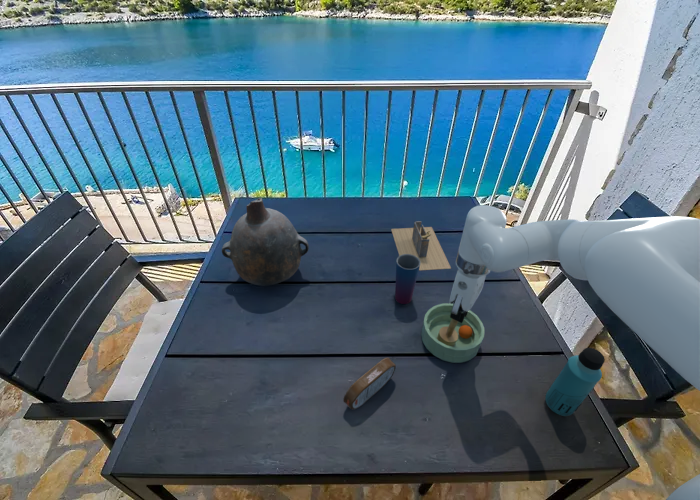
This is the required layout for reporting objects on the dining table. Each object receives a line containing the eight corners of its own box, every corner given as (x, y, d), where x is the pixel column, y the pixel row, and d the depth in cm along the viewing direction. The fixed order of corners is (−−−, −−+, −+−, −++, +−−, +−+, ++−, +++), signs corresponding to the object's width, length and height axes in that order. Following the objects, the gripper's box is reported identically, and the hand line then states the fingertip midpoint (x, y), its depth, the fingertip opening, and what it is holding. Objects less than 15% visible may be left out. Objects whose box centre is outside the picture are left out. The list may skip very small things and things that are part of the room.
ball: (470, 342, 95) (472, 335, 92) (456, 339, 96) (458, 331, 93) (471, 331, 97) (473, 324, 95) (458, 328, 98) (460, 321, 96)
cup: (403, 309, 104) (409, 272, 95) (387, 297, 109) (391, 260, 99) (418, 299, 108) (425, 262, 98) (402, 287, 112) (407, 250, 103)
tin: (387, 369, 89) (389, 349, 83) (396, 378, 87) (399, 358, 82) (342, 408, 81) (342, 388, 76) (351, 418, 79) (351, 399, 74)
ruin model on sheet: (451, 268, 119) (456, 246, 113) (404, 271, 118) (407, 248, 112) (431, 226, 139) (435, 205, 133) (391, 228, 137) (393, 207, 131)
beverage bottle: (548, 419, 79) (586, 369, 66) (537, 392, 84) (570, 340, 72) (577, 420, 79) (621, 370, 66) (564, 393, 84) (602, 341, 71)
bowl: (487, 334, 97) (492, 320, 94) (466, 374, 88) (471, 361, 84) (435, 309, 105) (439, 295, 101) (411, 344, 95) (413, 330, 91)
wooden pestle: (457, 337, 95) (475, 298, 84) (452, 351, 92) (471, 312, 81) (439, 330, 97) (455, 290, 86) (434, 343, 93) (450, 304, 82)
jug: (290, 246, 129) (280, 171, 110) (318, 280, 114) (312, 200, 96) (224, 270, 118) (201, 191, 100) (246, 310, 104) (224, 228, 85)
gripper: (478, 288, 69) (460, 345, 80) (503, 248, 79) (483, 304, 90) (443, 273, 72) (430, 330, 84) (471, 237, 82) (456, 292, 94)
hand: (458, 316), depth 87 cm, fingers closed on wooden pestle
